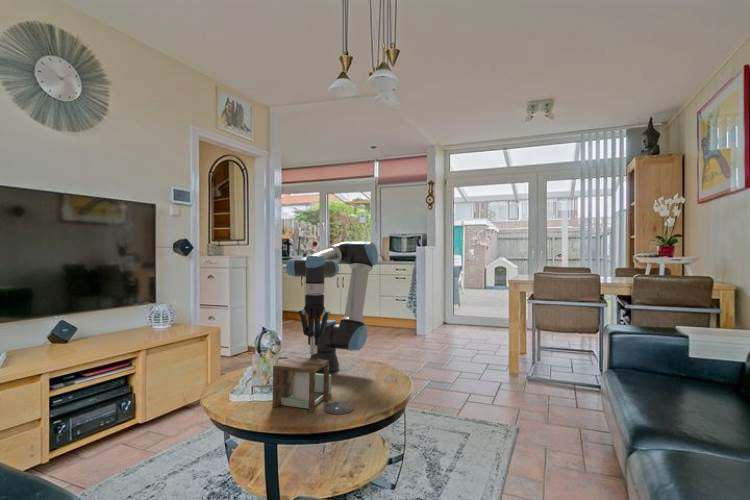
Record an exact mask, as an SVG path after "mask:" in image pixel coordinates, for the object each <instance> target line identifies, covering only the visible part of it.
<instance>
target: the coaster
mask: <svg viewBox="0 0 750 500" xmlns="http://www.w3.org/2000/svg"><path fill="white" fill-rule="evenodd" d="M354 409H355V407H354V405H353V404H352V403H350V402H346V401H331V402H328V403H326V404H324V405H323V412H325V413H327V414H331V415H347V414H349V413H352V412H353V411H354Z"/></svg>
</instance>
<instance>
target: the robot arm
mask: <svg viewBox="0 0 750 500" xmlns="http://www.w3.org/2000/svg"><path fill="white" fill-rule="evenodd" d="M378 261H379V252H378V248H377V246H376V244H375V243H374V242H372V241H343V242H342V241H341V242H338V243H335V244H333V245H329V246H327V248H325V249H324V250H321V251H319V252H316V253H313V254H309V255H307V256H305V257H302V258H290V259H289V260H288V261H287V262H286V265H285V269H286V270H285V271H286V274H287V275H288V276H290V277H295V278H296V277H299V278H301V277H302V278H305V281H304V282H305V283H304V284H305V286H304V288H305V289H304V290H305V291H304V292H305V295H304V307H303V309H301V310H299V311H298V314H299V316H300V321H301V326H302V331H303V335H304V336H306V337H307V338H308V339H307V340H308V341H307V342H308V343H307V345H309V354H310V357H309V358H313V359H323V360H329V373H333V372H337V371H338V370H339V369H340V362H339V359H338V355H337V351H336V350H338V349H339V350H346V351H357V352H358V351H361V350H362V349H363V348H364V346H365V344H366V342H367V338H368V328H367V326H365V322H364V321H363V314H364V313H363V312H364V307H365V299H366V295H367V286H368V280H369V274H370V272H371V271H372V270H373V267H374V266H377V264H378ZM339 264H340V265H341V264H342V265H349V268H350V269H351V273H350V280H349V286H348V291H347V298H346V303H345V308H344V309H345V310H344V311H345V312H344V316H343V317H342V318H340V321H339V323H337V320H336V319H329V317H330V315H331V312H330V311H327V310H326V308H325V279H327V278H329V279H332V278H334V277H336V276H337V275H338V274H339V272H340V265H339ZM321 316H322V319H321ZM315 373H317V374H324V367H322V368H321V369H319V370H318V371H316V372H315Z"/></svg>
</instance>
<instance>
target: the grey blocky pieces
mask: <svg viewBox="0 0 750 500" xmlns="http://www.w3.org/2000/svg"><path fill="white" fill-rule="evenodd" d="M323 388H324V373H317V372H315V393H322V395H320V396H319V397H317V398H315V406H316V405H318V404H319V403H321V402H322V400H323ZM331 394H332V374H329V395H331ZM280 406H287V407H295V408H301V409H308V410H309V401H308V400H300V399H293V394H291V395H290V396H288V397H287V398H285V397H281V405H280Z"/></svg>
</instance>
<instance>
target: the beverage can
mask: <svg viewBox="0 0 750 500" xmlns="http://www.w3.org/2000/svg"><path fill="white" fill-rule="evenodd" d="M293 399H300V400H308V401H309V373H307V372H298V371H295V372H294V373H293Z"/></svg>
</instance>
